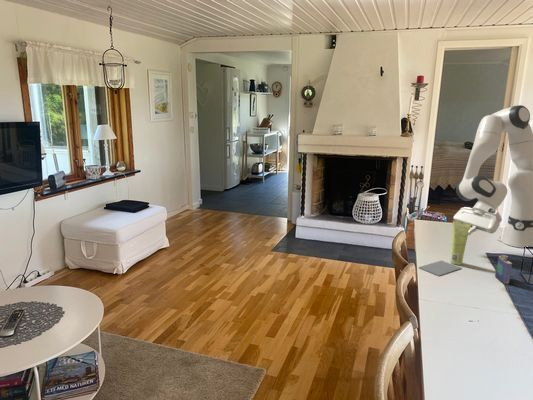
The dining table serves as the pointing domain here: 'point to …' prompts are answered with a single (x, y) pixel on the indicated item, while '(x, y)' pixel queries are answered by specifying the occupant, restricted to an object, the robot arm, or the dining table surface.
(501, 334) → the dining table surface
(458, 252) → the tube
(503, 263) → the blue purple box
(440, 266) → the felt mat
